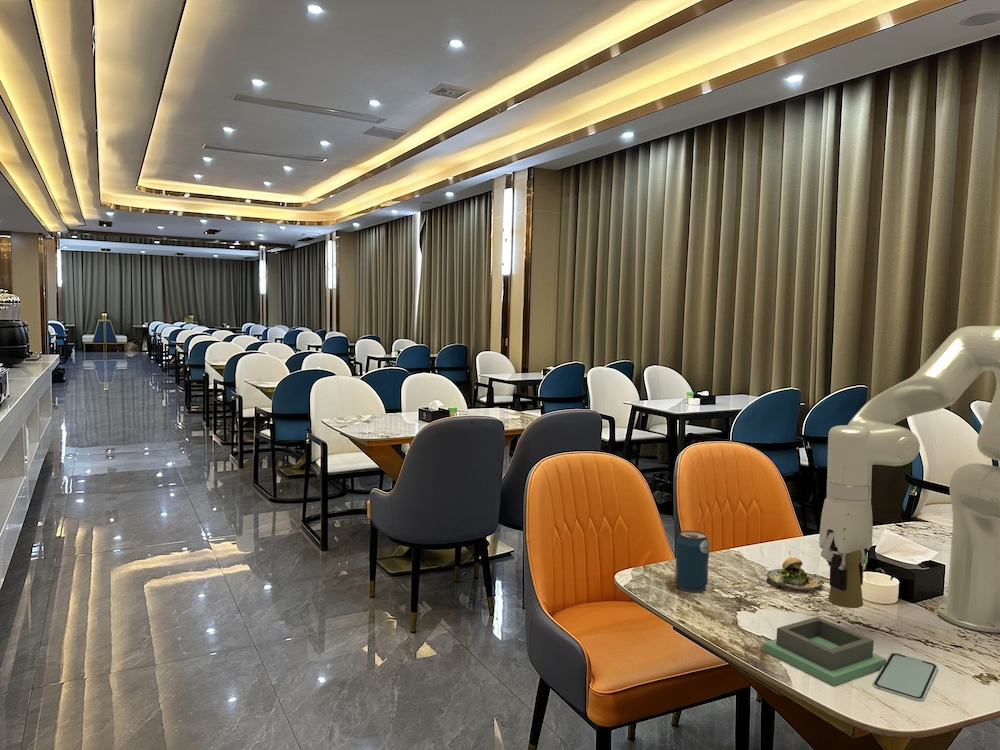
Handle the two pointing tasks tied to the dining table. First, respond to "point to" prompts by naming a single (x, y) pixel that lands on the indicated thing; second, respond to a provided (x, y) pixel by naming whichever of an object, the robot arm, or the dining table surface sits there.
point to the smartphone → (906, 676)
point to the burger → (793, 576)
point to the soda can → (692, 561)
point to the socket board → (825, 650)
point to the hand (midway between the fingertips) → (846, 584)
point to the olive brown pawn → (849, 584)
